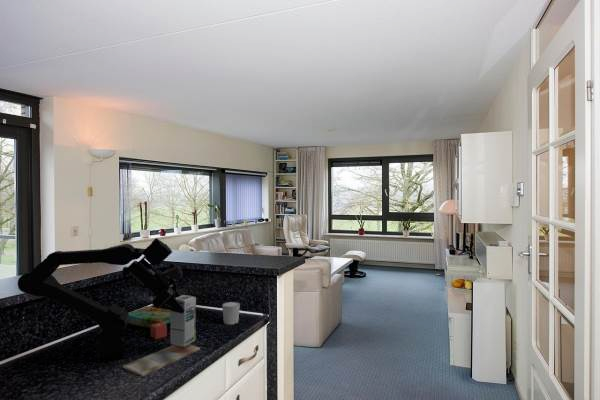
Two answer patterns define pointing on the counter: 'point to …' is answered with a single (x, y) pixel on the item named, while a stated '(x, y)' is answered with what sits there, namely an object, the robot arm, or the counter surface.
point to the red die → (158, 330)
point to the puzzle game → (149, 316)
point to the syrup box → (184, 322)
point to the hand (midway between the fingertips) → (184, 308)
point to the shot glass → (231, 312)
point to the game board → (160, 359)
